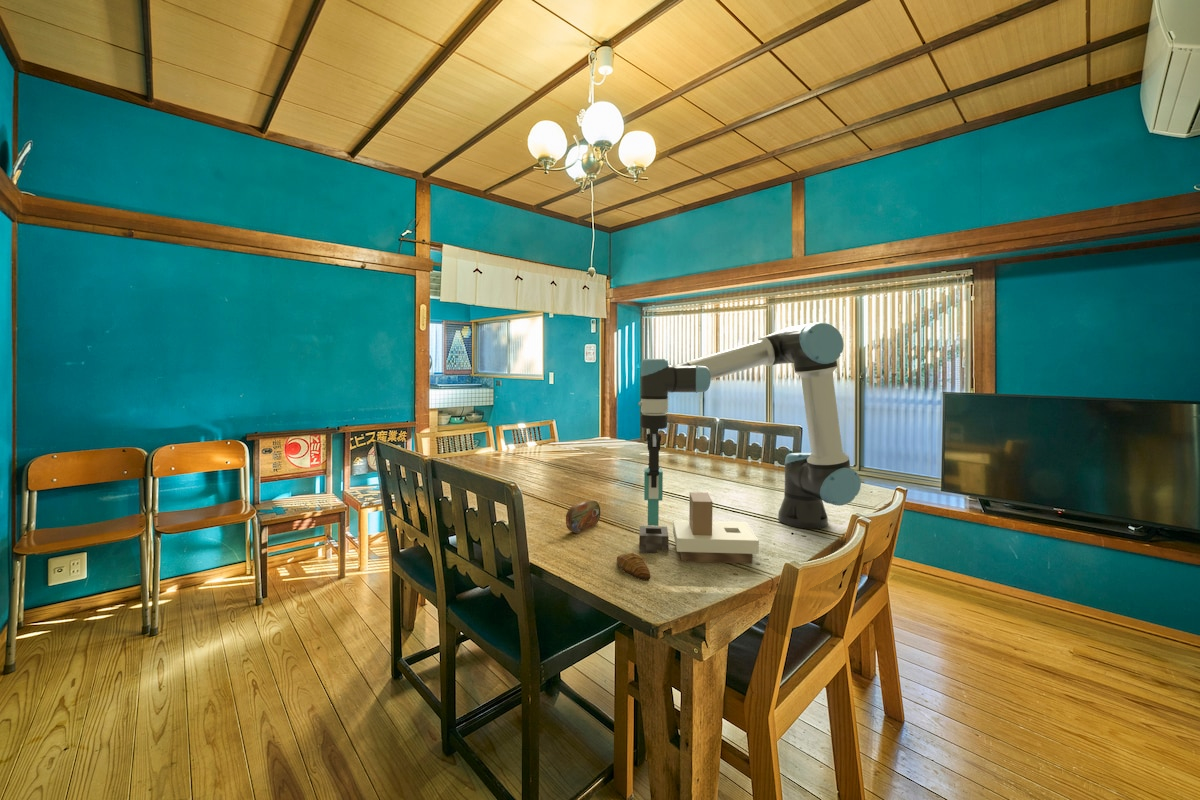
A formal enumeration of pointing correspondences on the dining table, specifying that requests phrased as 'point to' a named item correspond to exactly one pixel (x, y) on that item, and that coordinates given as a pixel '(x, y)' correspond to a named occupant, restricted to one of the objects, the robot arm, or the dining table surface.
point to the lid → (712, 531)
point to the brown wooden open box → (716, 557)
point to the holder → (653, 539)
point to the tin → (582, 516)
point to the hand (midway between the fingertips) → (653, 495)
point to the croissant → (634, 565)
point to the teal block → (653, 503)
